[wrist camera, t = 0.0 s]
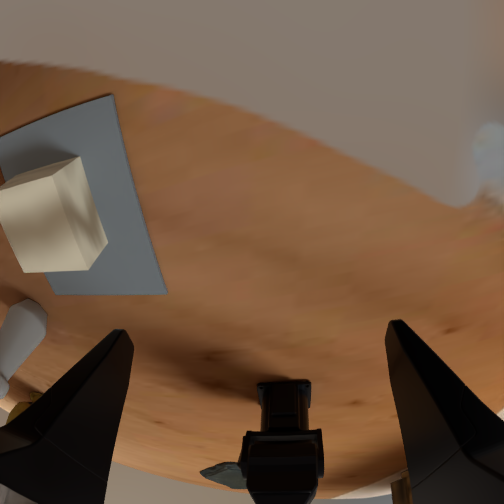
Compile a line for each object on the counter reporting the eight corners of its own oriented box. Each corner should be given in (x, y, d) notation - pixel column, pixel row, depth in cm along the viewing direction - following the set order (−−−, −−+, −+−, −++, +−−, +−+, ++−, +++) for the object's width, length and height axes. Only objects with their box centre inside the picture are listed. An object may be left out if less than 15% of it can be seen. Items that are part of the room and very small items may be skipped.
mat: (167, 292, 29) (167, 294, 29) (56, 293, 31) (55, 294, 31) (113, 94, 19) (111, 95, 19) (-6, 140, 21) (-8, 141, 21)
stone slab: (191, 455, 56) (190, 463, 55) (273, 461, 55) (272, 470, 54) (206, 481, 70) (205, 488, 68) (268, 486, 69) (268, 492, 67)
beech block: (108, 242, 26) (88, 270, 23) (45, 248, 27) (24, 272, 24) (80, 156, 22) (52, 175, 18) (16, 175, 23) (-11, 194, 19)
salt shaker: (25, 320, 35) (-19, 394, 24) (12, 289, 31) (-41, 365, 21) (58, 331, 35) (15, 412, 24) (46, 299, 32) (-7, 385, 21)
